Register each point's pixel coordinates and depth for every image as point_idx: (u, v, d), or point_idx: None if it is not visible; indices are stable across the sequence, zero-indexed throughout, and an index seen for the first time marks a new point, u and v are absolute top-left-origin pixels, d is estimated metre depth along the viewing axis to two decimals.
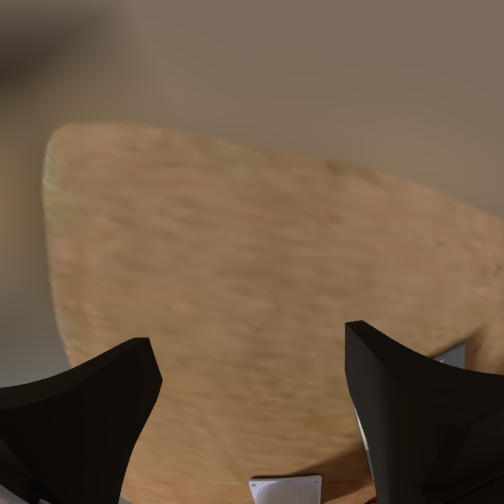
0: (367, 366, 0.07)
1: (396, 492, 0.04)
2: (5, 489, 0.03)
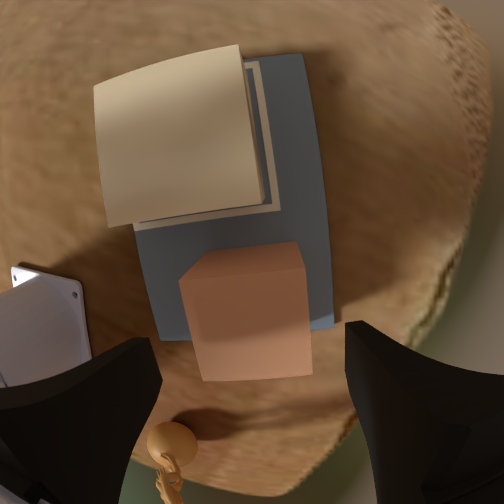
0: (367, 366, 0.07)
1: (396, 492, 0.04)
2: (5, 489, 0.03)
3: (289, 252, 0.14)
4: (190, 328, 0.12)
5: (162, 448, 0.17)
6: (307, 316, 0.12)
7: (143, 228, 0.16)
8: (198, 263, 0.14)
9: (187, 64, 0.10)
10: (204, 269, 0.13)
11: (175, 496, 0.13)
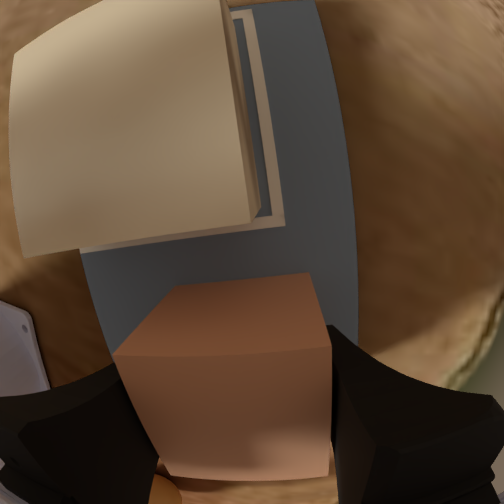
0: None
1: (349, 503, 0.04)
2: None
3: (299, 299, 0.08)
4: (141, 419, 0.07)
5: None
6: (328, 415, 0.06)
7: (90, 250, 0.11)
8: (155, 312, 0.09)
9: None
10: (158, 330, 0.07)
11: None
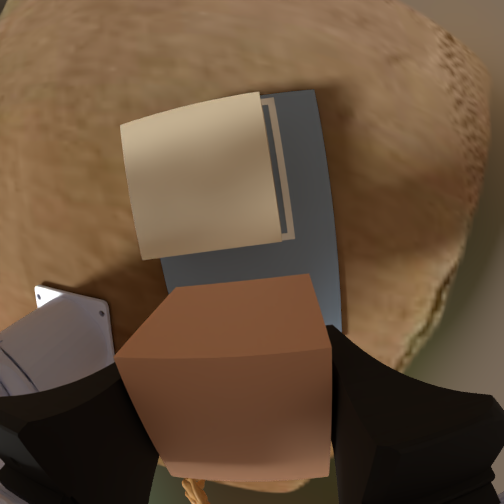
0: None
1: (349, 502, 0.04)
2: None
3: (299, 300, 0.08)
4: (142, 420, 0.07)
5: None
6: (328, 416, 0.06)
7: None
8: (156, 314, 0.09)
9: (211, 110, 0.12)
10: (159, 332, 0.07)
11: None
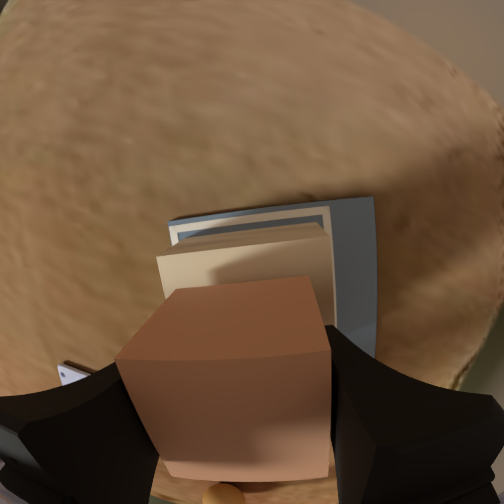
0: None
1: (349, 502, 0.04)
2: None
3: (299, 302, 0.08)
4: (143, 422, 0.07)
5: None
6: (327, 417, 0.06)
7: None
8: (157, 315, 0.09)
9: (273, 255, 0.11)
10: (160, 333, 0.07)
11: None
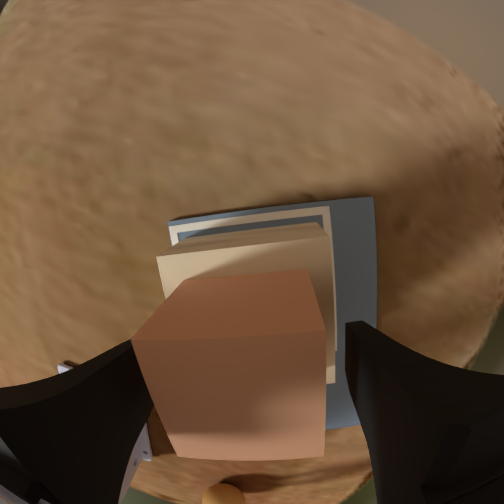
0: (367, 366, 0.07)
1: (396, 492, 0.04)
2: (5, 489, 0.03)
3: (298, 291, 0.09)
4: (153, 400, 0.08)
5: None
6: (323, 394, 0.07)
7: None
8: (167, 303, 0.10)
9: (273, 255, 0.12)
10: (172, 318, 0.08)
11: None
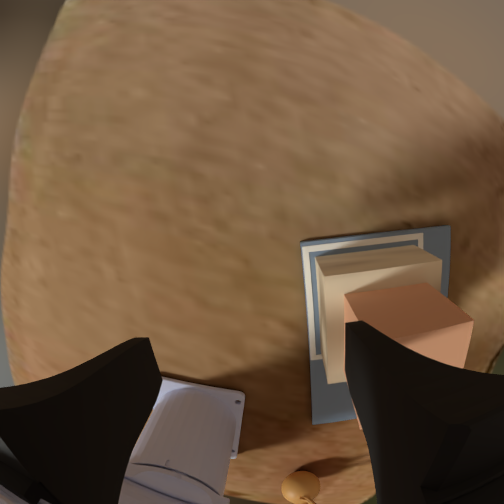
0: (367, 366, 0.07)
1: (396, 492, 0.04)
2: (5, 489, 0.03)
3: (439, 299, 0.12)
4: None
5: (301, 493, 0.21)
6: (464, 360, 0.10)
7: (319, 358, 0.20)
8: (358, 313, 0.13)
9: (408, 273, 0.14)
10: (379, 324, 0.11)
11: None
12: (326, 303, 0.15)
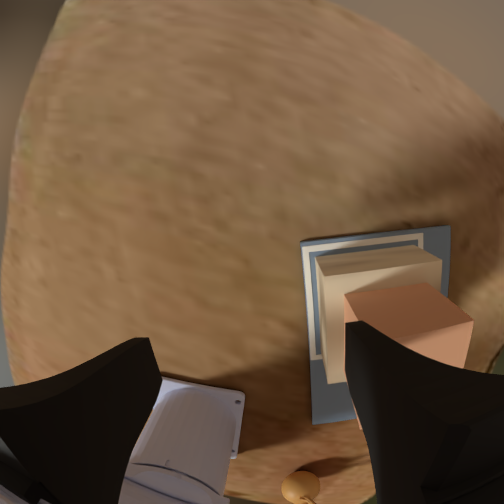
0: (367, 366, 0.07)
1: (396, 492, 0.04)
2: (5, 489, 0.03)
3: (439, 299, 0.12)
4: None
5: (301, 493, 0.21)
6: (464, 360, 0.10)
7: (319, 358, 0.20)
8: (358, 313, 0.13)
9: (408, 273, 0.14)
10: (379, 324, 0.11)
11: None
12: (326, 303, 0.15)
